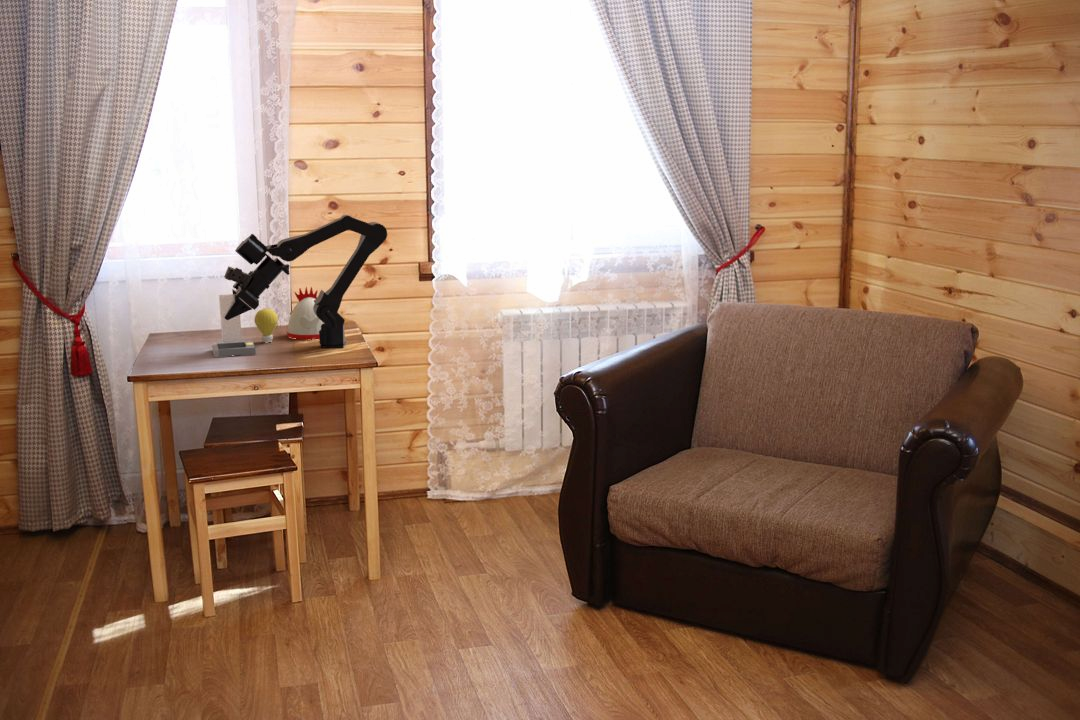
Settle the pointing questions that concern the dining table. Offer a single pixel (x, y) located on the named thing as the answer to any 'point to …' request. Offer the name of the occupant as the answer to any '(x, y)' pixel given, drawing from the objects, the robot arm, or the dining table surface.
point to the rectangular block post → (231, 326)
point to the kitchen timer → (304, 317)
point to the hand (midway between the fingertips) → (225, 317)
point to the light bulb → (266, 323)
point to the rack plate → (233, 348)
